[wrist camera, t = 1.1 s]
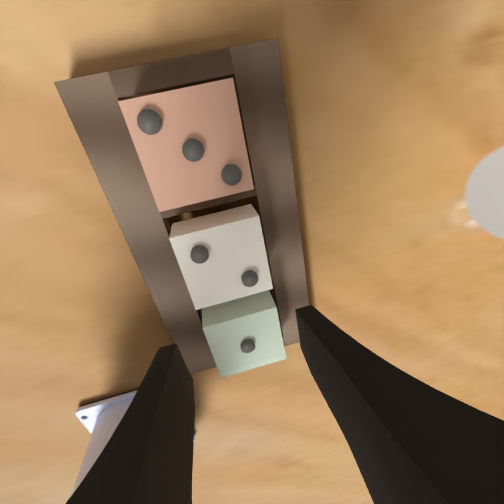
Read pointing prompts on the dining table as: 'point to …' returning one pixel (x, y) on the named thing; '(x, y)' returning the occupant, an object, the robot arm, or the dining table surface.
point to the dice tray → (157, 225)
